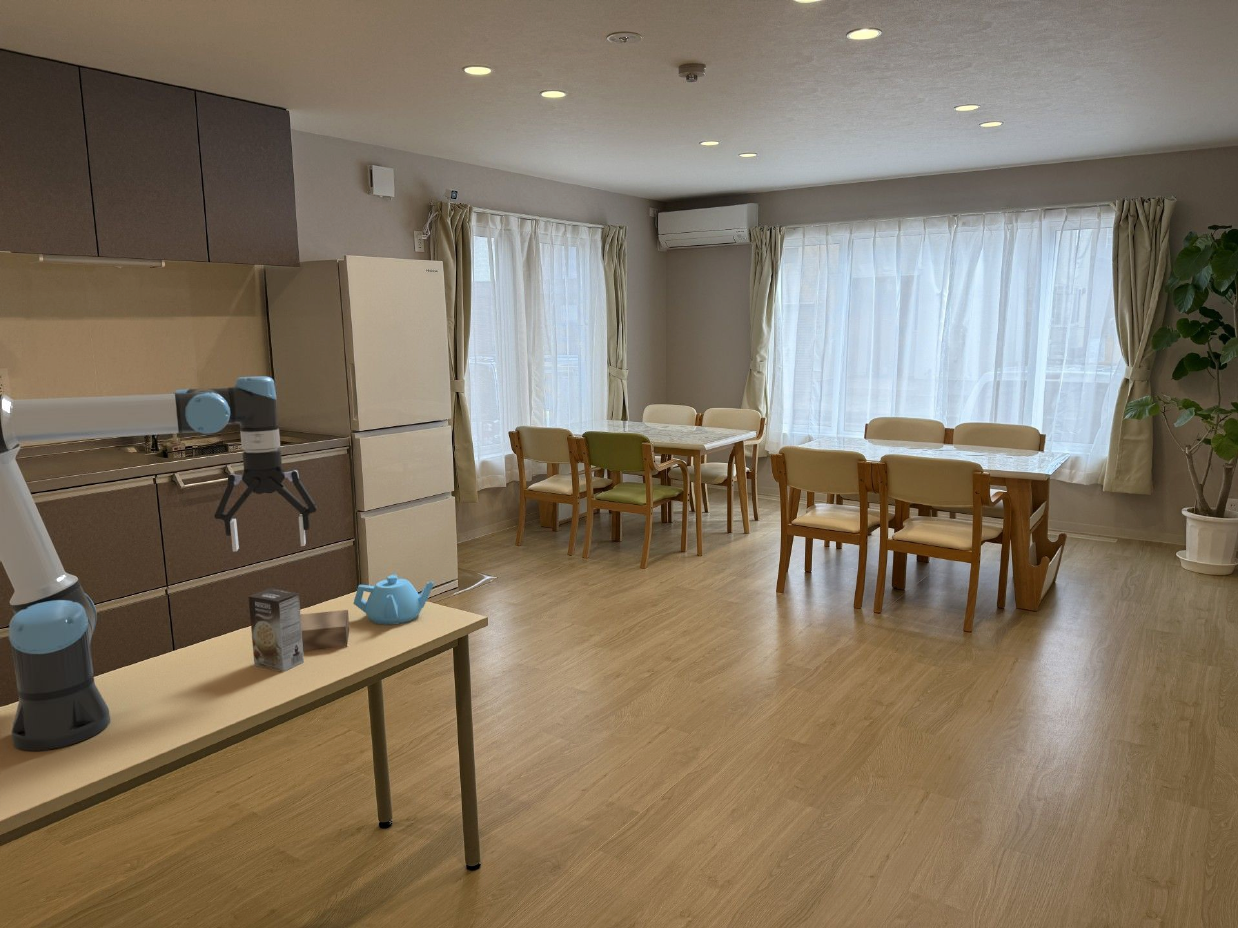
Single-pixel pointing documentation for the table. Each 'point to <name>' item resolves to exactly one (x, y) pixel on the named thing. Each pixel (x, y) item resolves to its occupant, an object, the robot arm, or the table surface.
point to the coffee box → (276, 629)
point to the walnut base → (325, 630)
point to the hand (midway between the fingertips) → (269, 547)
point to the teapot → (392, 600)
